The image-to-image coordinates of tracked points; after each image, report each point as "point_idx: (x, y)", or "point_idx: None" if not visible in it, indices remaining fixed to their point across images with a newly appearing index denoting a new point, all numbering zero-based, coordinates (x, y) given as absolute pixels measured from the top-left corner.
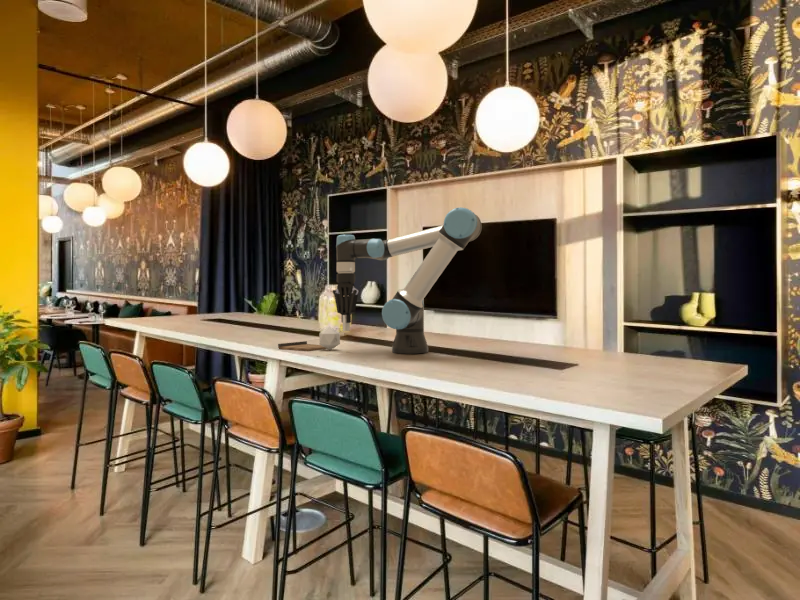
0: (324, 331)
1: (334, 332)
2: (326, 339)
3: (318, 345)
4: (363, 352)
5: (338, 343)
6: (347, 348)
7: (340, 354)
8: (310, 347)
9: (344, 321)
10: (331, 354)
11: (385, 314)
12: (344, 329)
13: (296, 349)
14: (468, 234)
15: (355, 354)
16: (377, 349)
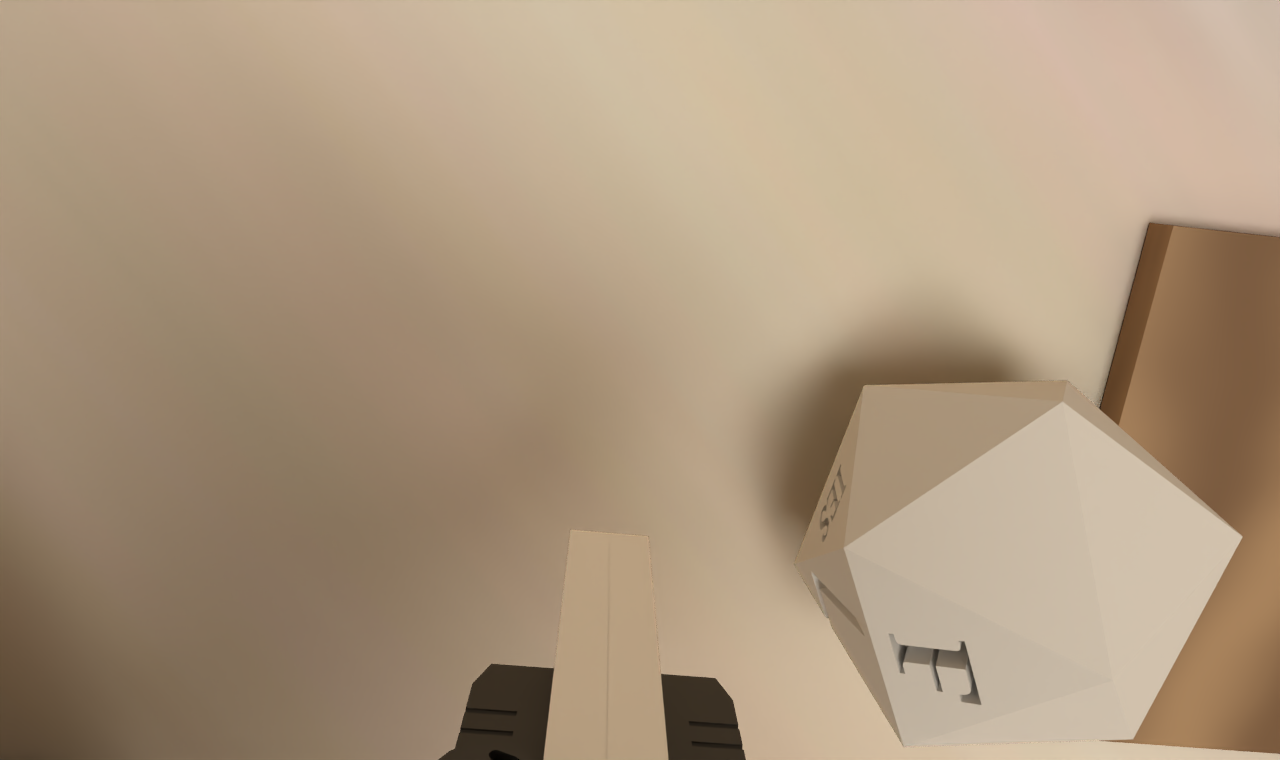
0: (1107, 502)
1: (889, 562)
2: (946, 392)
3: (1269, 680)
4: (319, 453)
5: (803, 541)
6: (833, 755)
7: (427, 80)
8: (1233, 408)
9: (586, 651)
10: (548, 15)
11: None
12: (592, 545)
13: None
14: None
15: (234, 184)
16: None
